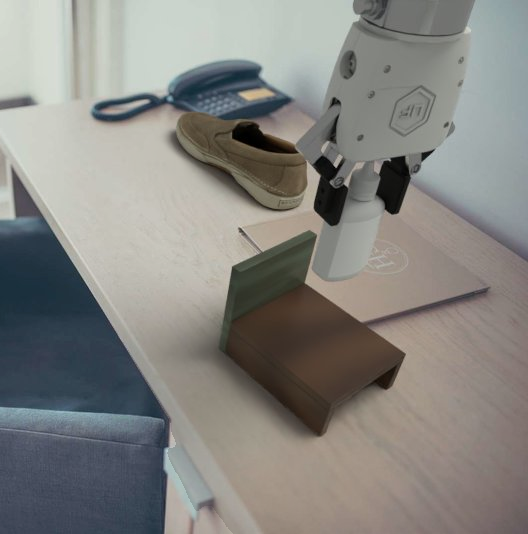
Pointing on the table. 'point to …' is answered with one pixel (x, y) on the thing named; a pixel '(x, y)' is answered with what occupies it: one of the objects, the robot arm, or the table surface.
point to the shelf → (300, 335)
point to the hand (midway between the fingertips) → (355, 210)
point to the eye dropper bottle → (351, 229)
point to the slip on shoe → (247, 157)
